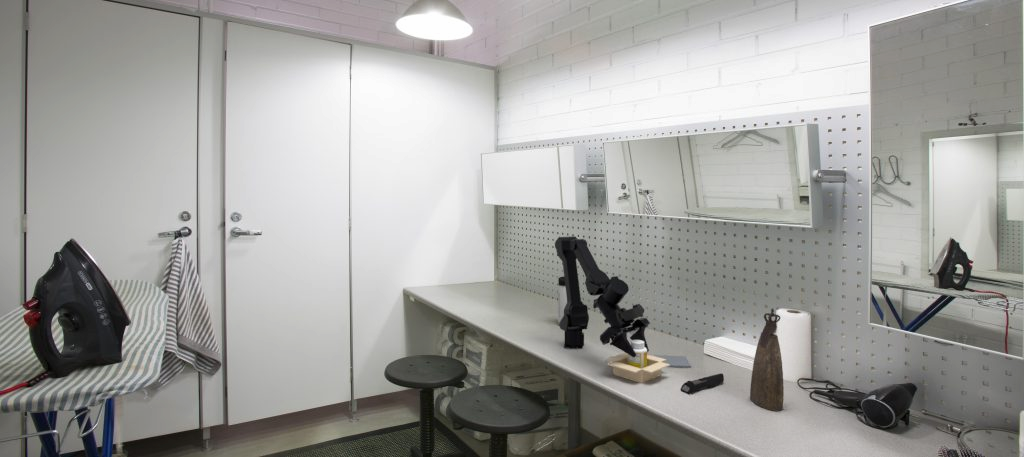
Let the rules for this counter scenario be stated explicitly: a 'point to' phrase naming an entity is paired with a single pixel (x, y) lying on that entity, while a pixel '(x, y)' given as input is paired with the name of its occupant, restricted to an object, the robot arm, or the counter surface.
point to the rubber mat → (675, 361)
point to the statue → (768, 368)
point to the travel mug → (561, 298)
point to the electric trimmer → (702, 383)
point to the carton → (637, 373)
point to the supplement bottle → (638, 354)
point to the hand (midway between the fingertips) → (641, 354)
